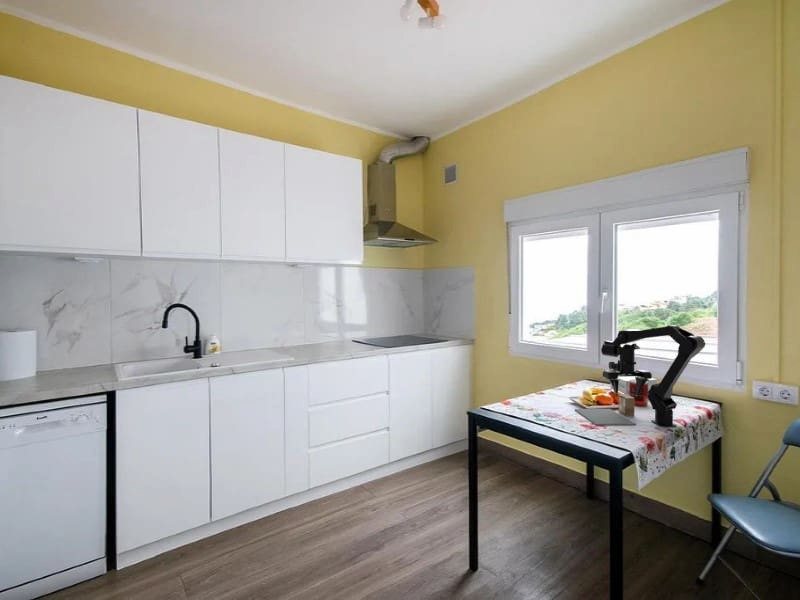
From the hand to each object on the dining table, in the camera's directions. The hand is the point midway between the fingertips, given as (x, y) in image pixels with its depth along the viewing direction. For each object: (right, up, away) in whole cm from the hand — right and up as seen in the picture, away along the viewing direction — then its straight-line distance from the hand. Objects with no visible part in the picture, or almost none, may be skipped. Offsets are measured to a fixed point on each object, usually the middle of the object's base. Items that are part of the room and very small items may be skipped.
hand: (626, 394), depth 178 cm
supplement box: (+21, -8, +32) cm, 39 cm away
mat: (-12, -9, -4) cm, 16 cm away
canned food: (+14, -9, +15) cm, 22 cm away
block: (0, -9, 0) cm, 9 cm away
